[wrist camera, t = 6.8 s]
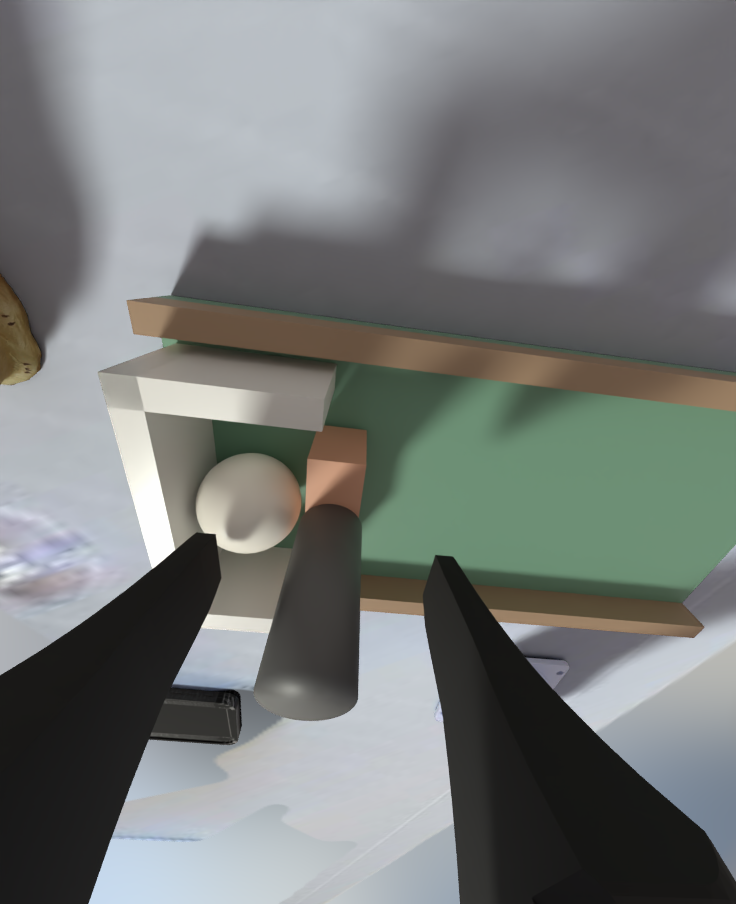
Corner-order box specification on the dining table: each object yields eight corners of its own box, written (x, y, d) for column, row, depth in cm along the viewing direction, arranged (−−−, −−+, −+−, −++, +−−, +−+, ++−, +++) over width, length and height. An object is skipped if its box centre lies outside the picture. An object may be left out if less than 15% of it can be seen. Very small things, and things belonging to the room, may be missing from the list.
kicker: (355, 537, 16) (345, 753, 9) (308, 533, 16) (258, 748, 9) (371, 430, 13) (375, 620, 6) (313, 424, 13) (246, 609, 6)
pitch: (659, 599, 21) (693, 637, 18) (210, 558, 19) (189, 596, 17) (841, 387, 14) (930, 408, 12) (170, 295, 12) (126, 300, 10)
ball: (279, 500, 17) (315, 552, 14) (192, 525, 14) (216, 593, 12) (279, 429, 15) (321, 474, 12) (178, 446, 12) (203, 505, 10)
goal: (320, 564, 18) (308, 636, 14) (208, 554, 17) (168, 625, 14) (336, 363, 12) (324, 399, 9) (176, 343, 12) (97, 371, 9)
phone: (238, 745, 30) (63, 733, 28) (242, 730, 30) (73, 718, 29) (235, 703, 26) (33, 687, 24) (240, 687, 27) (46, 671, 25)
